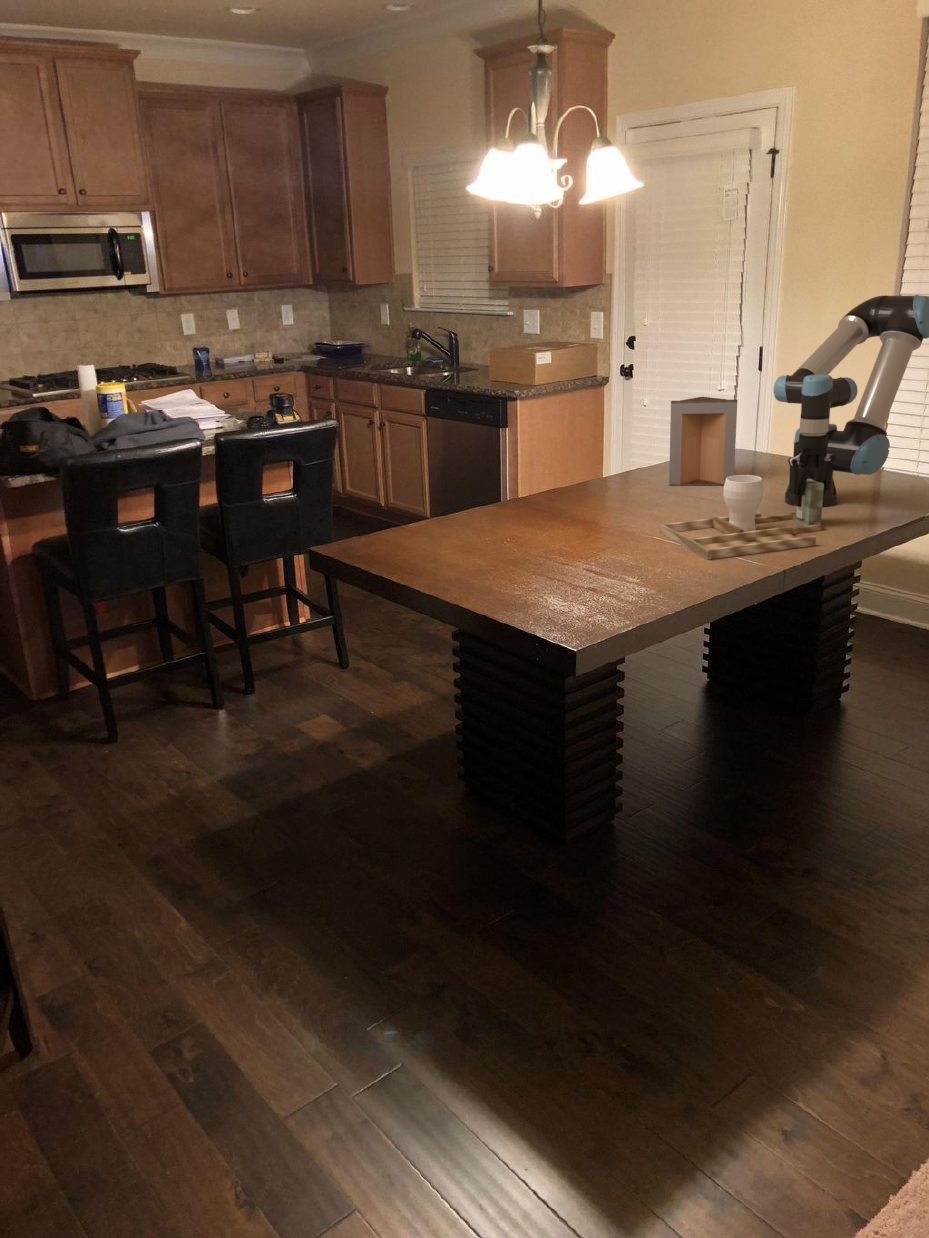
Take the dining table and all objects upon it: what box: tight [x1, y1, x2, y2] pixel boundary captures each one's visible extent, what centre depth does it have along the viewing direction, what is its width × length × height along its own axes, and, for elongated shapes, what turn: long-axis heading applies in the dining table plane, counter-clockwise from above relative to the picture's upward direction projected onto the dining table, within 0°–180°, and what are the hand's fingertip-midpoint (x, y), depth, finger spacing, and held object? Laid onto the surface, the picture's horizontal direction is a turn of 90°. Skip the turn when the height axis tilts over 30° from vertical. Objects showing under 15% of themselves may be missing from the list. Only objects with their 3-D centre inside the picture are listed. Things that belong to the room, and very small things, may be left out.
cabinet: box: [668, 396, 738, 487], centre depth 324 cm, size 21×10×28 cm, turn 77°
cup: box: [722, 474, 765, 532], centre depth 268 cm, size 11×11×15 cm
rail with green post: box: [711, 479, 826, 535], centre depth 270 cm, size 27×15×12 cm, turn 104°
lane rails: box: [659, 512, 817, 561], centre depth 264 cm, size 31×28×2 cm
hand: (807, 516), depth 274 cm, fingers closed on rail with green post, 4 cm apart
